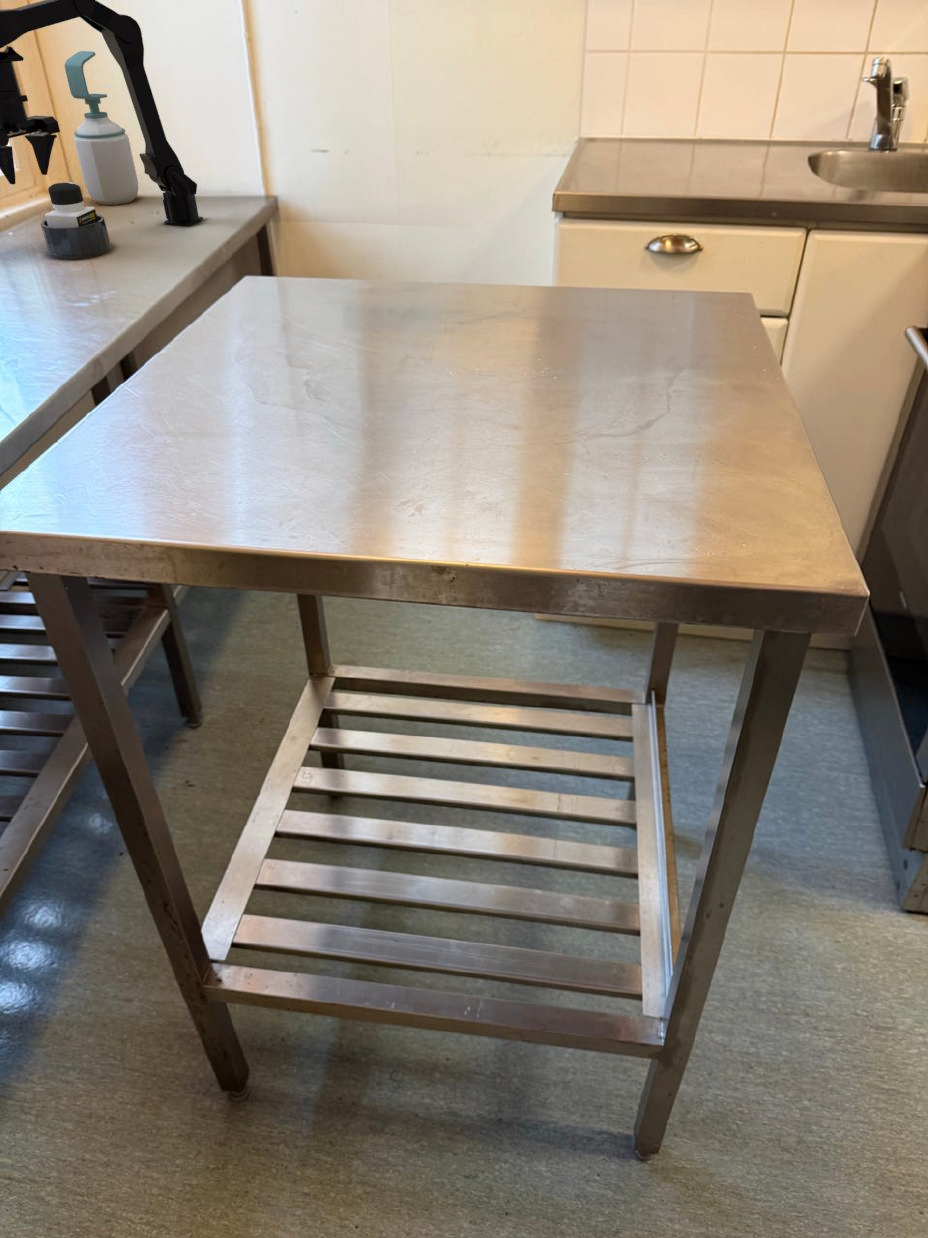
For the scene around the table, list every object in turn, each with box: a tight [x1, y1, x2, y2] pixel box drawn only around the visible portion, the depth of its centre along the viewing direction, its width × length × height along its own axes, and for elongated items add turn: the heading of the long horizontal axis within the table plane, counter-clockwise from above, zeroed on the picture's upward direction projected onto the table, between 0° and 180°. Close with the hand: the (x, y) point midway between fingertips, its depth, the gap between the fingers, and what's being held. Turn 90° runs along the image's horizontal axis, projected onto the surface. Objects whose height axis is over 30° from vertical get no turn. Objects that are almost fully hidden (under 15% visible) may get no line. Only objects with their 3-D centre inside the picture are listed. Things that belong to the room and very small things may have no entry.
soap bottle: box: [64, 50, 139, 206], centre depth 211 cm, size 12×12×31 cm
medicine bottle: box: [44, 181, 98, 228], centre depth 181 cm, size 7×7×12 cm
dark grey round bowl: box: [40, 213, 112, 261], centre depth 183 cm, size 12×12×6 cm
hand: (29, 179), depth 180 cm, fingers open, 9 cm apart
